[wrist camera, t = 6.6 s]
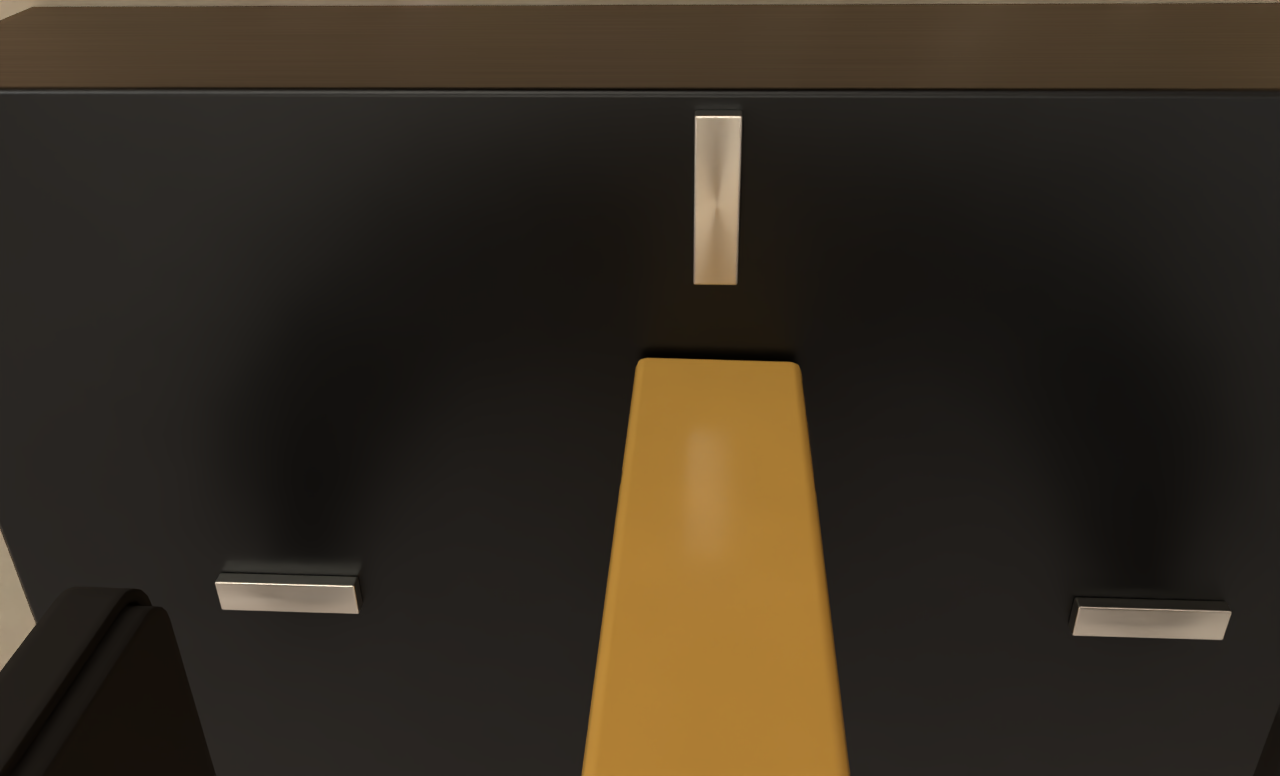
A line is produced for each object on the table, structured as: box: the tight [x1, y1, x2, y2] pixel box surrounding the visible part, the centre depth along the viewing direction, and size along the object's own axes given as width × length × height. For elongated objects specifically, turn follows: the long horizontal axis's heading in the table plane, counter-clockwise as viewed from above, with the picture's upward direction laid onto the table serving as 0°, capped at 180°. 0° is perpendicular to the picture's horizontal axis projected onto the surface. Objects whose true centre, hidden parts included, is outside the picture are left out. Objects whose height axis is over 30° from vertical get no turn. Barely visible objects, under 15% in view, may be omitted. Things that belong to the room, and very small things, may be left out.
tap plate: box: [0, 3, 1280, 776], centre depth 12 cm, size 14×10×3 cm
